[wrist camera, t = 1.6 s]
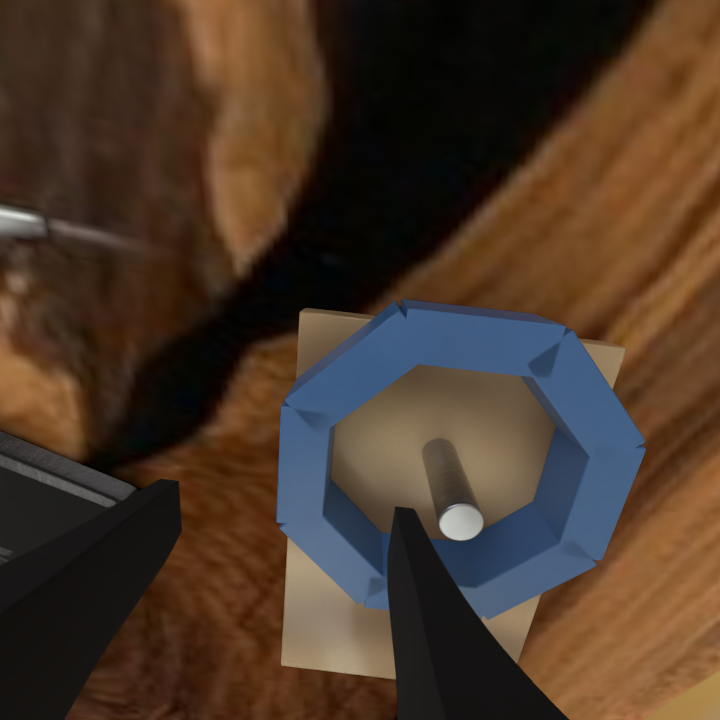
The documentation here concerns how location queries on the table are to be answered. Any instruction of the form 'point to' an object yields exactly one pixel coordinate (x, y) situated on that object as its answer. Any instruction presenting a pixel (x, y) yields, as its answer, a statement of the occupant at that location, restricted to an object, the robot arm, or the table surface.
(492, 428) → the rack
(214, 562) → the table surface
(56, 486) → the phone
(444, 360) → the ring
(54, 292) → the table surface
